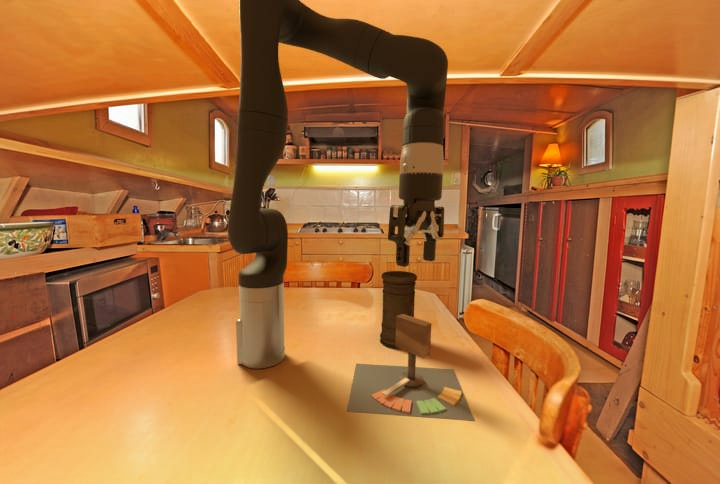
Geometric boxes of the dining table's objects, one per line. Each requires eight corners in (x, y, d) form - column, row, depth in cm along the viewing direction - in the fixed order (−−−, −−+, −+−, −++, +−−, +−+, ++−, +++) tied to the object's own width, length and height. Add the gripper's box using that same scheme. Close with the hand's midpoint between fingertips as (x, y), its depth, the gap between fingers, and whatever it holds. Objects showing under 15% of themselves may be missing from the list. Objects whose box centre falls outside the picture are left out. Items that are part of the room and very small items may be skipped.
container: (386, 356, 69) (388, 279, 67) (374, 339, 78) (375, 271, 76) (422, 351, 71) (425, 277, 69) (406, 336, 80) (408, 269, 78)
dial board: (346, 418, 49) (346, 409, 48) (356, 368, 63) (356, 362, 63) (474, 427, 47) (474, 418, 47) (453, 374, 62) (453, 367, 62)
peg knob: (404, 369, 61) (406, 312, 59) (432, 382, 56) (435, 321, 55) (370, 390, 54) (371, 325, 52) (399, 407, 49) (401, 337, 48)
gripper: (416, 167, 46) (411, 272, 48) (459, 175, 56) (454, 261, 58) (378, 170, 51) (375, 264, 53) (424, 177, 61) (420, 256, 63)
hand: (416, 263), depth 55 cm, fingers open, 8 cm apart
